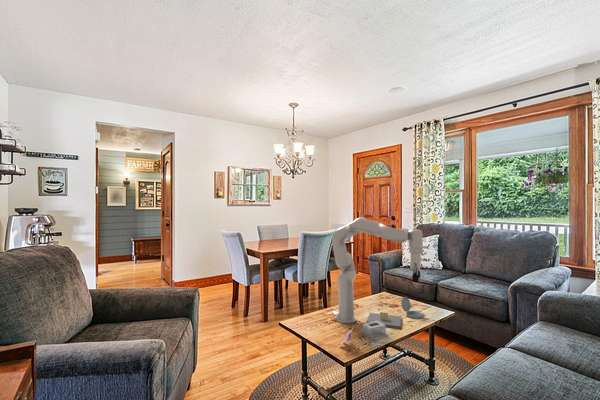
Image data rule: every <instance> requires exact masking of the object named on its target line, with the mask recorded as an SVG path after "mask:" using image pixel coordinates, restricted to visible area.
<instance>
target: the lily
mask: <svg viewBox="0 0 600 400" xmlns="http://www.w3.org/2000/svg"><path fill="white" fill-rule="evenodd" d="M353 329H354V326H353V327H352V329H351V330H348V331H347V332H346V334H345V338H344V340H343V341H342V342H341V343H340V346H339V347H341V346H342V345H343V343H347V342H349V341H352V342H353V344H354V346H355V347H357V345H356V343H355V342H354V341H353V340H352V331H353Z"/></svg>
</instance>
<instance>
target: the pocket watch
mask: <svg viewBox="0 0 600 400" xmlns="http://www.w3.org/2000/svg"><path fill="white" fill-rule="evenodd" d="M400 304H401V308H402V310H403V311H404V312H406V315H407V316H408V317H409V318H412V319H421V318H422V319H425V318H426V316H424V315H423V313H422V312H420V311H416V310H411V301H410V299H409V298H408V297H407V296H403V297H402V298H401V301H400Z"/></svg>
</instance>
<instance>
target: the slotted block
mask: <svg viewBox="0 0 600 400" xmlns="http://www.w3.org/2000/svg"><path fill="white" fill-rule="evenodd" d="M361 325H362V328H361V329H362V330H361V331H362V333H363V334H364V335H366V336H367V337H368V338H369V339H370V338H375V337H379V336H382V335H386V334H387V331H386V329H387V327H386V325H385V324H383V323H381V322H379V321H374V322H369V323H366V322H365V323H362V324H361Z"/></svg>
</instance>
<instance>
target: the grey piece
mask: <svg viewBox="0 0 600 400" xmlns="http://www.w3.org/2000/svg"><path fill="white" fill-rule="evenodd" d="M374 321H379V322H381V323H383V324H385V325H386V328H389V329H390V328H391V329H399V330H400V329H401V327H402V316H401V315H400V316H399V315H393V314H389V311H383V310H380V312H379V313H375V312H369V314H368V316H367V319H366V322H365V323H369V322H374Z"/></svg>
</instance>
